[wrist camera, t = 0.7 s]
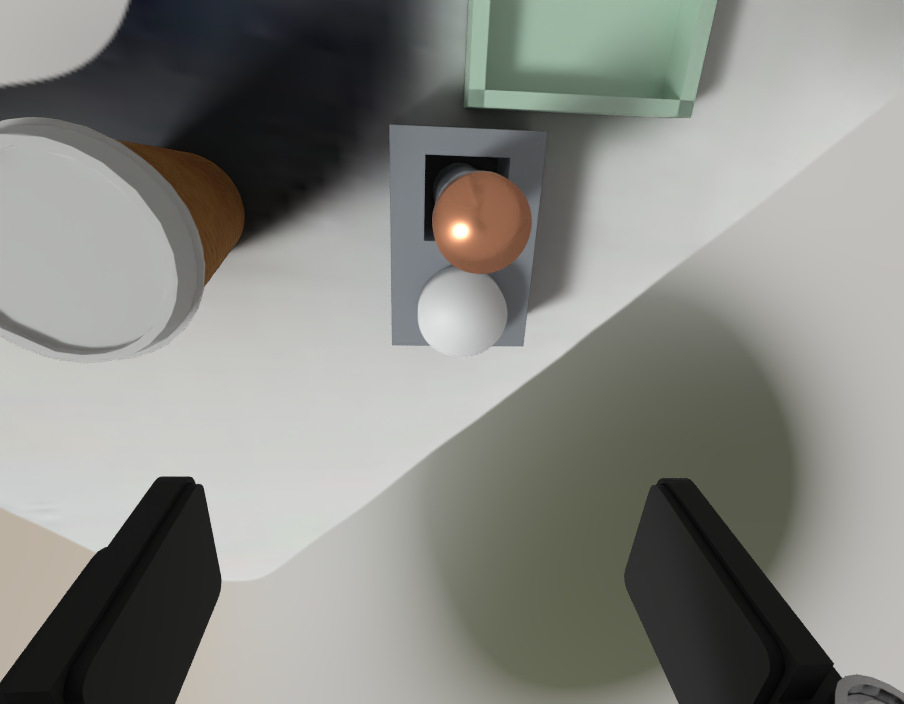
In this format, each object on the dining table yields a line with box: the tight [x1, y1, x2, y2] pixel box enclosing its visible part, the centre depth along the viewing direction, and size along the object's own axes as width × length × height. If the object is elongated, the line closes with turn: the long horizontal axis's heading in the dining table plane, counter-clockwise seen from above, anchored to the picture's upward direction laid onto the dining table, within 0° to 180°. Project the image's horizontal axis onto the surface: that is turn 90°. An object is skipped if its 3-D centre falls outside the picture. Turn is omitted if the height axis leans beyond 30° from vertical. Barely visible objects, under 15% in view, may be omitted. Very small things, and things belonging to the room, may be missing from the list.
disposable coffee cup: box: [0, 117, 245, 363], centre depth 23 cm, size 10×10×12 cm
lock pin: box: [432, 163, 532, 274], centre depth 24 cm, size 4×4×11 cm
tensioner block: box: [389, 124, 548, 357], centre depth 28 cm, size 12×8×6 cm, turn 178°
